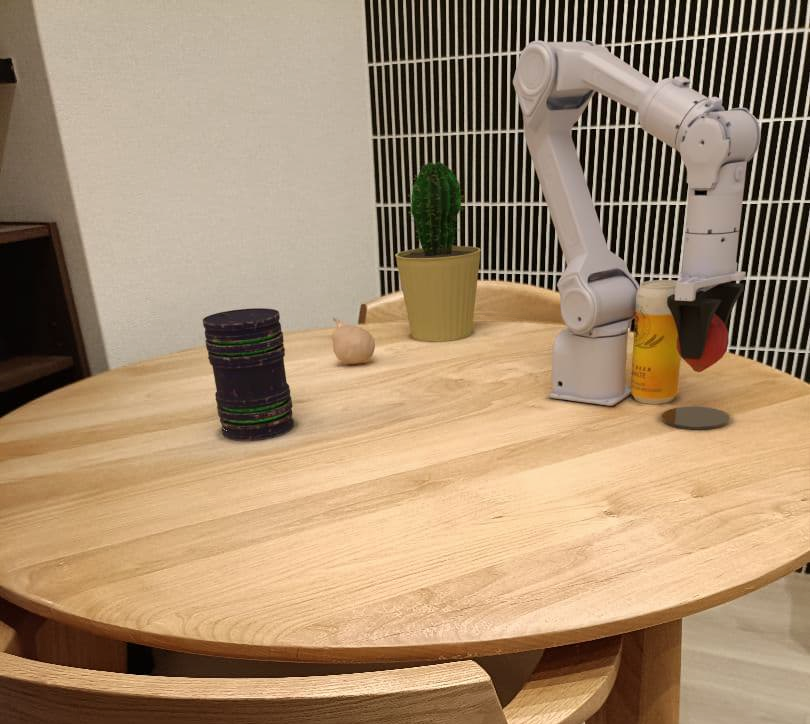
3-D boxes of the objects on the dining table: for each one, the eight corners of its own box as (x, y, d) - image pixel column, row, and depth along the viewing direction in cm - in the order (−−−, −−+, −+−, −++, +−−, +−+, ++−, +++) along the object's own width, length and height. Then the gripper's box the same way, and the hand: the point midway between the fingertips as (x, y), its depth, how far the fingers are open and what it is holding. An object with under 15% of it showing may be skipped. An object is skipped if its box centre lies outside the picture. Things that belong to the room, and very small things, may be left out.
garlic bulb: (353, 357, 142) (348, 310, 138) (382, 360, 139) (378, 312, 135) (328, 366, 137) (323, 318, 134) (358, 370, 134) (353, 321, 130)
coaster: (651, 424, 101) (651, 421, 101) (675, 406, 107) (675, 403, 107) (716, 433, 97) (716, 430, 96) (738, 414, 102) (738, 411, 102)
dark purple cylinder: (308, 420, 112) (295, 308, 105) (269, 444, 104) (251, 325, 98) (248, 414, 116) (231, 307, 109) (206, 437, 108) (185, 323, 102)
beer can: (624, 394, 113) (630, 281, 106) (667, 390, 113) (676, 277, 106) (638, 406, 107) (646, 289, 101) (684, 402, 108) (694, 285, 101)
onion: (725, 366, 100) (732, 299, 97) (725, 378, 95) (732, 309, 92) (675, 365, 102) (680, 299, 99) (672, 377, 97) (678, 308, 94)
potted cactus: (394, 345, 148) (380, 163, 135) (407, 326, 162) (397, 159, 148) (479, 343, 145) (474, 157, 132) (485, 324, 159) (482, 153, 146)
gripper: (726, 240, 84) (713, 370, 90) (768, 223, 94) (754, 341, 100) (660, 239, 88) (651, 363, 94) (707, 223, 98) (697, 336, 104)
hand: (700, 352), depth 98 cm, fingers closed on onion, 6 cm apart
